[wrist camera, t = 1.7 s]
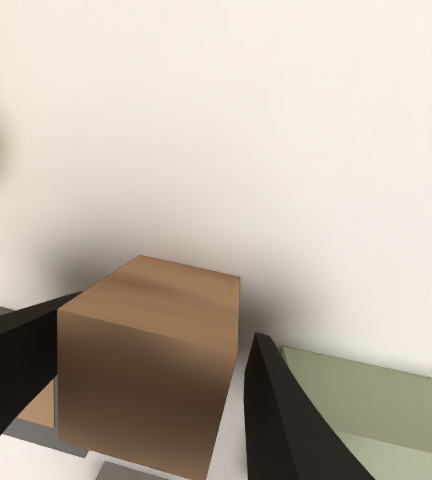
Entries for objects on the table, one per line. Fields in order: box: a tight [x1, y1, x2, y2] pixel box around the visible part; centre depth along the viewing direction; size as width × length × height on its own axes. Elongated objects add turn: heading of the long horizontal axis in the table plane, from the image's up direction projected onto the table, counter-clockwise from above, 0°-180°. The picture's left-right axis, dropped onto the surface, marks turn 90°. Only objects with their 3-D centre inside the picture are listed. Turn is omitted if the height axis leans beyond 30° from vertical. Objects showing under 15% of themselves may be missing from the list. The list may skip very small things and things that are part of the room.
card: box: [0, 308, 89, 458], centre depth 13 cm, size 9×9×1 cm
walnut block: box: [57, 255, 240, 480], centre depth 9 cm, size 5×5×5 cm
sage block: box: [281, 346, 432, 480], centre depth 10 cm, size 9×9×4 cm
